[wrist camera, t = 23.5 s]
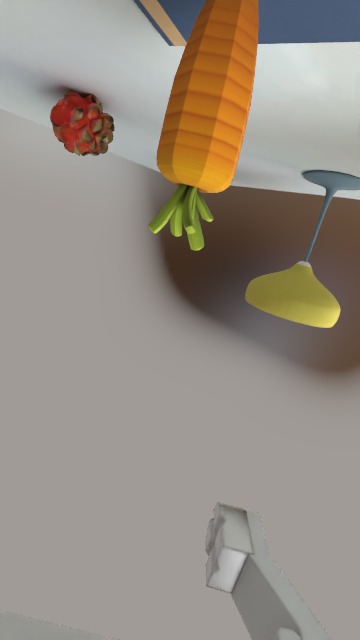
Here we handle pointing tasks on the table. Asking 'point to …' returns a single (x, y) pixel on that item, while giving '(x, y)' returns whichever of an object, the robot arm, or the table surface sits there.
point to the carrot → (207, 112)
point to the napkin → (265, 20)
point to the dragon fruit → (82, 124)
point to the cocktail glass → (302, 273)
